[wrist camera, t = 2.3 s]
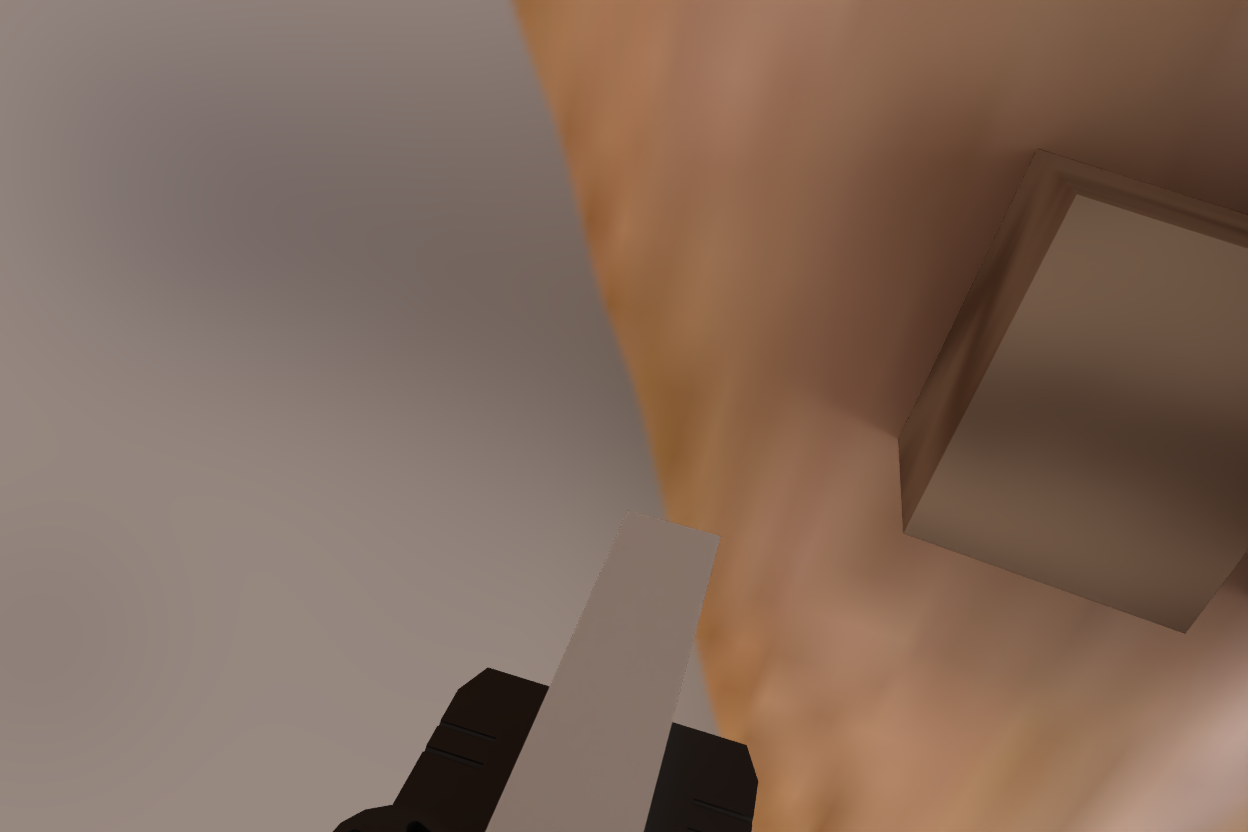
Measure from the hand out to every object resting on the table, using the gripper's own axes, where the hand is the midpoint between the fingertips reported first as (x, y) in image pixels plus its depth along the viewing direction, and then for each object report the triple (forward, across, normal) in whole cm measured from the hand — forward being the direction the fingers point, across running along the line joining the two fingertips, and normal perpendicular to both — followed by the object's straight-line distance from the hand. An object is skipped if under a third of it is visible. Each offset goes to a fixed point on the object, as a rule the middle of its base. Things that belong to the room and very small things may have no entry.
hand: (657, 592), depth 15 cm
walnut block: (+17, +10, 0) cm, 20 cm away
